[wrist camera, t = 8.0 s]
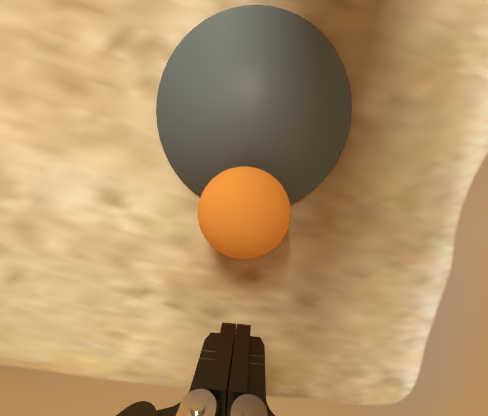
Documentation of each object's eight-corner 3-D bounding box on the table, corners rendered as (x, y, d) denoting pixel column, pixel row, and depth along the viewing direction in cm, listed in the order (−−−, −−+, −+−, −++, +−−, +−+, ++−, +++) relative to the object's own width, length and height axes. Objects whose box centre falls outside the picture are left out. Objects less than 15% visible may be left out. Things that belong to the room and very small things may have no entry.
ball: (239, 289, 15) (242, 228, 20) (318, 251, 13) (301, 191, 18) (166, 241, 13) (189, 183, 18) (247, 180, 10) (249, 132, 15)
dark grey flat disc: (262, -45, 15) (262, -48, 15) (390, 125, 16) (392, 124, 16) (119, 110, 17) (118, 109, 17) (243, 245, 19) (242, 246, 19)
